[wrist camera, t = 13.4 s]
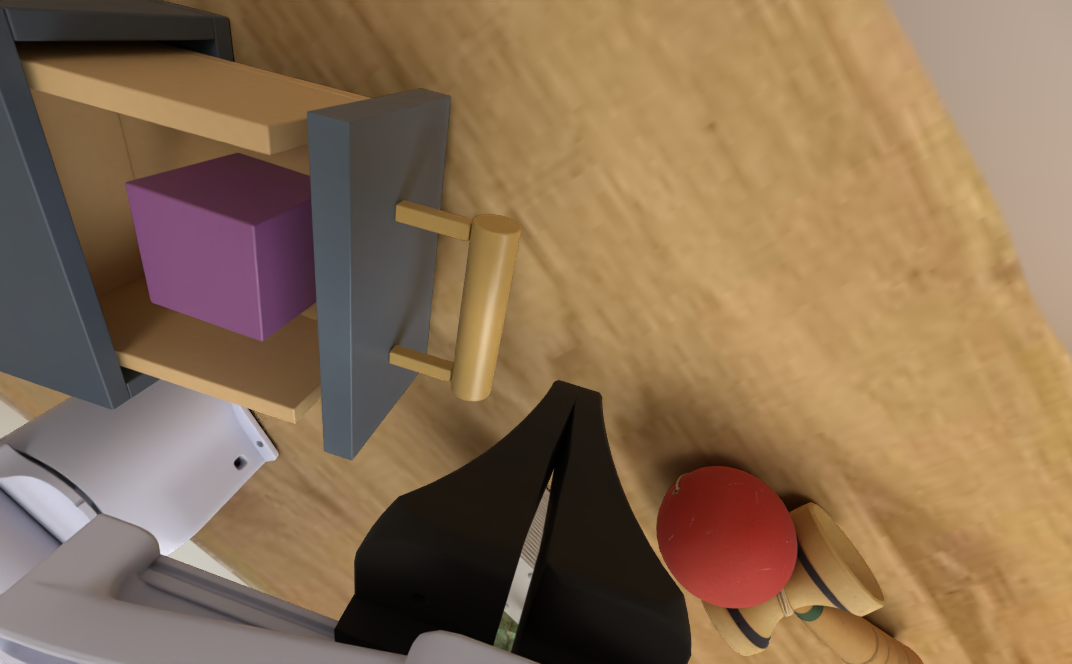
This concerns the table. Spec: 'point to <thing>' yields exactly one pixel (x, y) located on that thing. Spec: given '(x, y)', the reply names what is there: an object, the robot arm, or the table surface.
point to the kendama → (770, 566)
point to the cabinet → (41, 209)
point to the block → (227, 242)
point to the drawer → (337, 217)
